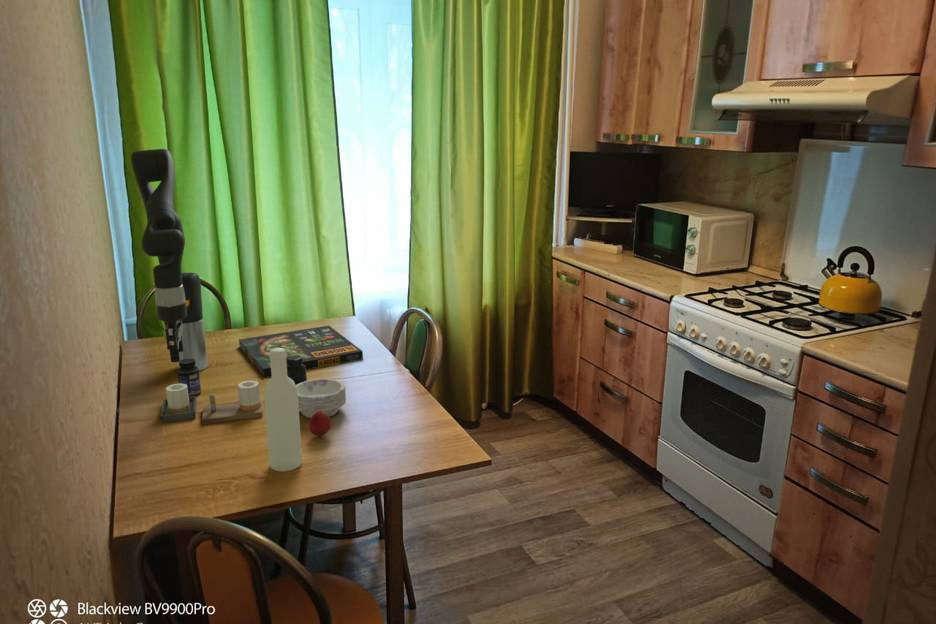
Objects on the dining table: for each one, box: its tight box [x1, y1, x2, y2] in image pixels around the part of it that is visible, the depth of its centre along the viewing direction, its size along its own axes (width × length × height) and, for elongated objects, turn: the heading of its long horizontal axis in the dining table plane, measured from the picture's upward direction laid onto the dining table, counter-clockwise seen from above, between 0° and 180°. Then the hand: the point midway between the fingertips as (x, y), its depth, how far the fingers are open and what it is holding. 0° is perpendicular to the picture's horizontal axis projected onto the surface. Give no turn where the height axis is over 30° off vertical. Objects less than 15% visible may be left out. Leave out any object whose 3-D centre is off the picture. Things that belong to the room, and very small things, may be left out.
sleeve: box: [165, 383, 190, 414], centre depth 191 cm, size 6×6×7 cm
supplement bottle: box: [286, 355, 308, 385], centre depth 204 cm, size 7×7×12 cm
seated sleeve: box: [237, 380, 262, 411], centre depth 192 cm, size 6×6×7 cm
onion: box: [308, 409, 332, 438], centre depth 177 cm, size 6×6×8 cm
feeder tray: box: [160, 396, 198, 424], centre depth 192 cm, size 12×9×2 cm
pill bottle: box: [176, 358, 202, 397], centre depth 203 cm, size 6×6×11 cm
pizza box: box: [238, 325, 364, 378], centre depth 241 cm, size 35×35×4 cm
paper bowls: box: [296, 378, 347, 419], centre depth 192 cm, size 15×15×8 cm
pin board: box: [201, 393, 263, 426], centre depth 190 cm, size 10×16×6 cm, turn 110°
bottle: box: [263, 348, 303, 473], centre depth 160 cm, size 8×8×30 cm
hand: (177, 356), depth 187 cm, fingers open, 8 cm apart
